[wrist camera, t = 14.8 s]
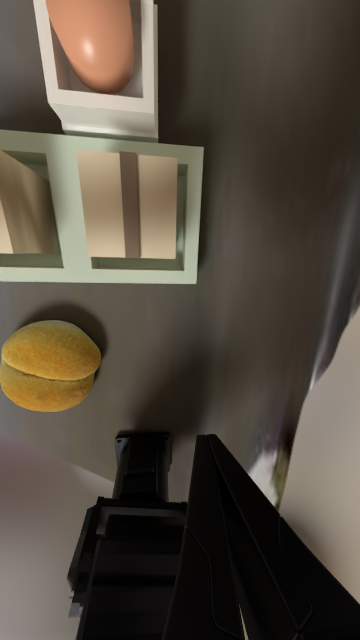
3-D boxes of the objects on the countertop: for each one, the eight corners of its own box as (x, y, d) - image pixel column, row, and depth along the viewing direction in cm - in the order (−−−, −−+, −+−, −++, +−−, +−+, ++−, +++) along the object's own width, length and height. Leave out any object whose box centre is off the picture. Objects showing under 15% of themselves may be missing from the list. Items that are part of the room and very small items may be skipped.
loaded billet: (170, 256, 17) (175, 259, 12) (110, 255, 16) (87, 256, 11) (171, 189, 15) (177, 156, 10) (105, 185, 15) (74, 147, 9)
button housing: (158, 152, 15) (157, 118, 11) (74, 145, 14) (44, 107, 11) (157, 40, 13) (157, -46, 9) (61, 27, 12) (18, -72, 9)
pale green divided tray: (191, 279, 18) (196, 283, 16) (-22, 276, 16) (-52, 280, 14) (197, 163, 15) (203, 147, 13) (-62, 142, 14) (-109, 119, 11)
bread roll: (111, 332, 19) (99, 351, 16) (87, 402, 22) (73, 433, 18) (19, 302, 18) (-18, 316, 14) (5, 382, 20) (-31, 412, 16)
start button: (136, 98, 11) (132, 67, 9) (71, 91, 11) (52, 57, 9) (133, 6, 10) (128, -49, 8) (60, -5, 10) (36, -66, 8)
